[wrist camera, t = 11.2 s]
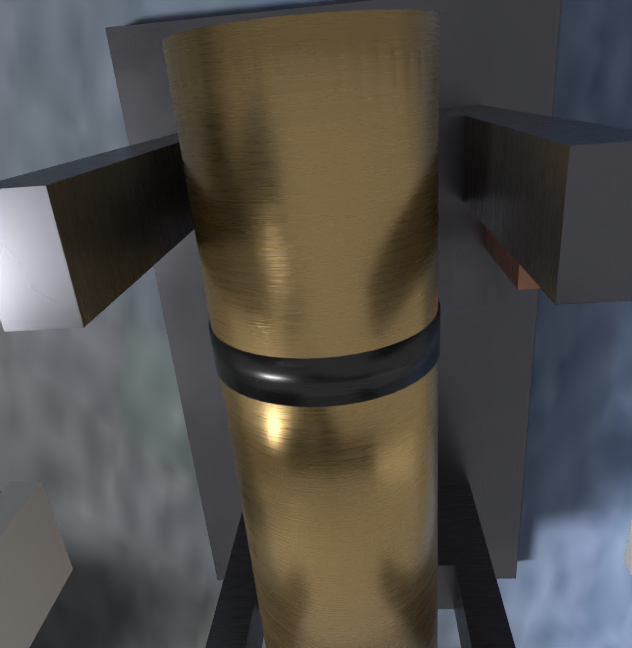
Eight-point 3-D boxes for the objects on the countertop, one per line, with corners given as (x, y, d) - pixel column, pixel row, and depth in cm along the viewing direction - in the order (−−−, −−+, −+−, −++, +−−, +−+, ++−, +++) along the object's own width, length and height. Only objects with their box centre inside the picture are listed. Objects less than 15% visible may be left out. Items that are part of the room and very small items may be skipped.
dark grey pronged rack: (116, 30, 17) (-298, -63, 6) (553, -15, 16) (972, -225, 5) (221, 565, 26) (122, 915, 15) (511, 563, 24) (632, 943, 14)
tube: (249, 49, 13) (95, 42, 9) (465, 22, 11) (394, -4, 7) (317, 632, 21) (251, 773, 17) (453, 677, 19) (416, 852, 15)
